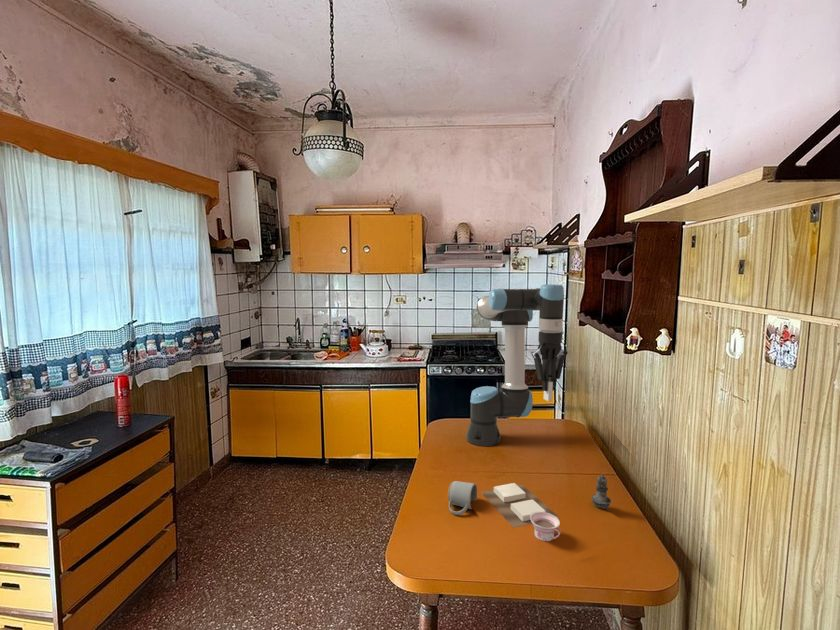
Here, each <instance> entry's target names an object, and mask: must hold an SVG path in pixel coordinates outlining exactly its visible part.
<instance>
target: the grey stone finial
mask: <svg viewBox="0 0 840 630" xmlns="http://www.w3.org/2000/svg"><path fill="white" fill-rule="evenodd" d="M596 482H597V483H596V486H595V489H596V493H595V494H593V495H591V500H592V504H593V505H594V506H595V507H596V508H597V509H600V510H605V509H606V510H607V511H608V512H610V509H609V507H610V505H611V503H612V499H611V498H610V497H608V495H607V494H608V493H607V492H608V490H609V488H608V479H607V477H606V476H604V474H603V473H602V474H601V475H599V476H598V477H597V481H596Z"/></svg>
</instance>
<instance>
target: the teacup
mask: <svg viewBox="0 0 840 630" xmlns="http://www.w3.org/2000/svg"><path fill="white" fill-rule="evenodd" d="M530 520H531V522H532V524H531V525H532V526H533V528H534V537H535V538H536V539H537V540H540V541H542V542H550V541H551V542H552V541H553V540H555V539H557V538H558V537H560V534H561V531H562V530H561V529H560V528H559V526H560V524H561V522H560V519H559V518H557V517H555V516H554V515H552V514H549V513H546V512H533V513H532V514H531V515H530ZM555 531H557V534H556V536H555Z"/></svg>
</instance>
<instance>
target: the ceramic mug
mask: <svg viewBox="0 0 840 630" xmlns="http://www.w3.org/2000/svg"><path fill="white" fill-rule="evenodd" d="M447 499H448V509H449V511H450V513H451V514H452V515H455V516H462V515H463V514H465V513H466V511H467V510H468V509H469V510H473V508H474V507H472V506H471V502H472V501H477V500H478V486H477V484H476V483H473V482H468V481H467V482H465V481H459V480H455V481H452V482H450V484H449V486H448V490H447ZM452 505H453V506H457V507H458V506H459V507H462V509H461V510H459V511H455V510H454V509H452V508H451V507H452Z"/></svg>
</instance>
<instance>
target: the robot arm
mask: <svg viewBox="0 0 840 630" xmlns="http://www.w3.org/2000/svg"><path fill="white" fill-rule="evenodd" d="M564 299H565V288H564V286H563V285H562V284H542V285H540V287H539V288H492V289H491V290H490V291H489V295H485V296H483V297H481V298H480V299H478V301H477V304H476V311H477V313H478V315H479V316H480V317H481V318H483V319H484V320H487V321H491V322H501V326H502V328H503V329H504V383H502V384H501V387H500V388H501V389H500V390H498V388H497V387H496V386H490V385H489V386H488V385H486V386H485V385H484V386H479V387H476V388H475V389H473V390H471V395H470V401H469V402H470V423H469V426H468V427H467V430H466V434H465V435H466V437H465V438H466V439H465V440H466V441H467V442H468V443H470V444H472V445H475V446H479V447H480V446H481V447H491V446H496V445H498V444H499V443H500V442H501V433H500V430H499V427H498V418H524V417H528V416H529V415H530V414H531V412H532V409H533V404H534V399H533V393H532V391H531V390H529V386H528V385H527V384H526V383H525V382H526V381H525V380H526V379H525V375H526V374H525V371H526V370H525V365H526V363H525V361H526V359H525V355H526V353H525V352H526V351H525V350H526V349H525V347H526V346H525V343H526V341H525V340H526V338H525V336H526V334H525V333H526V331H525V330H526V328H527V327H528V326H529V322H531V321H532V320H533V316H534V311H539V318H538V330H539V332H538V347H537V350H535V351H532V352H531V353H530V354H531V356H532V358H533V361H534V362H533V363H534V366H535V371H536V372H535V373H536V378H537V380H540V381H542V385H541V386H542V388H541V389H542V391H543V400H545V401H547V402H551V401H553V391H554V390H555V383H556V382H557V381H558V380H560V378H561V375H562V371H563V367H564V364H565V360H566V359H565V358H566V357H567V355H568V351H567V350H564V349H563V347H562V342H563V324H564V323H563V321H564V319H563V318H564V317H563V316H564V305H565V304H564V303H565V300H564Z"/></svg>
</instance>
